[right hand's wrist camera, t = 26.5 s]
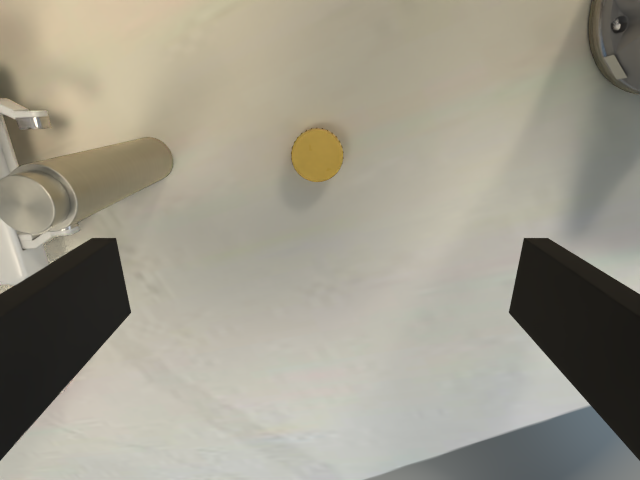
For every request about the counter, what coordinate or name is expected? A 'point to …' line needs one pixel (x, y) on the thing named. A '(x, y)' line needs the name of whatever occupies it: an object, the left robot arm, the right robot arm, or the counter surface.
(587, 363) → the right robot arm
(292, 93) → the counter surface
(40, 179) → the beige cylinder
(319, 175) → the lid
